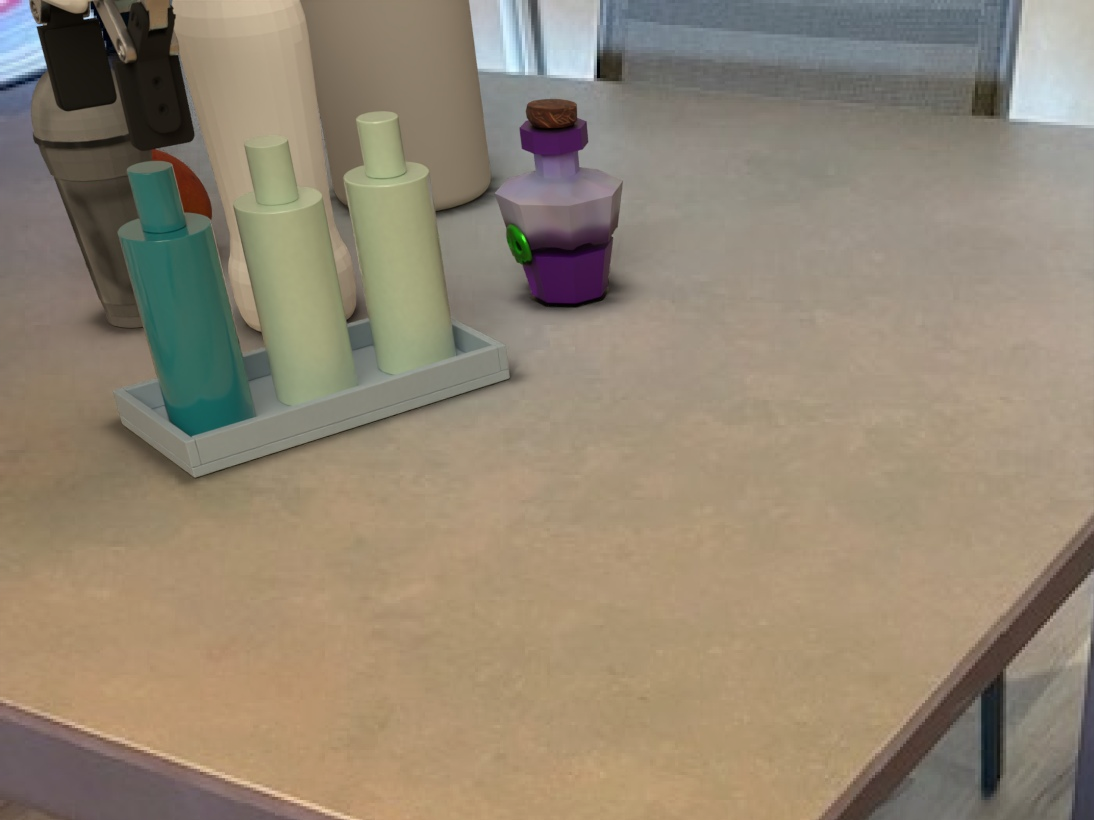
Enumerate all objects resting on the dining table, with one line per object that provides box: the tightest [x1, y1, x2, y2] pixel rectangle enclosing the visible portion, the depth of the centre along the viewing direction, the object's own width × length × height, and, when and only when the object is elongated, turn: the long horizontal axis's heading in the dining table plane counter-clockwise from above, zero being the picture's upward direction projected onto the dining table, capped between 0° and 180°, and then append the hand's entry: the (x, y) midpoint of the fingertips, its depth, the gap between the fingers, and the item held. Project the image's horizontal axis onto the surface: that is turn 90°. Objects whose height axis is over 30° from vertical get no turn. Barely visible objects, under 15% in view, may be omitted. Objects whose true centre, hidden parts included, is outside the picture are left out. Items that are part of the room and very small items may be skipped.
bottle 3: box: [343, 111, 457, 375], centre depth 99 cm, size 5×5×14 cm
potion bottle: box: [494, 98, 624, 308], centre depth 109 cm, size 9×9×12 cm
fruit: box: [152, 148, 213, 221], centre depth 119 cm, size 9×9×8 cm
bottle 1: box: [171, 0, 357, 333], centre depth 101 cm, size 8×8×30 cm
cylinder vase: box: [300, 0, 492, 212], centre depth 123 cm, size 12×12×25 cm
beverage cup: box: [30, 23, 152, 329], centre depth 106 cm, size 7×7×20 cm
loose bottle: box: [118, 161, 257, 437], centre depth 92 cm, size 5×5×14 cm
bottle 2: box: [233, 135, 359, 406], centre depth 95 cm, size 5×5×14 cm
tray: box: [112, 317, 511, 479], centre depth 100 cm, size 21×10×2 cm, turn 129°
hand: (125, 125), depth 86 cm, fingers open, 9 cm apart
